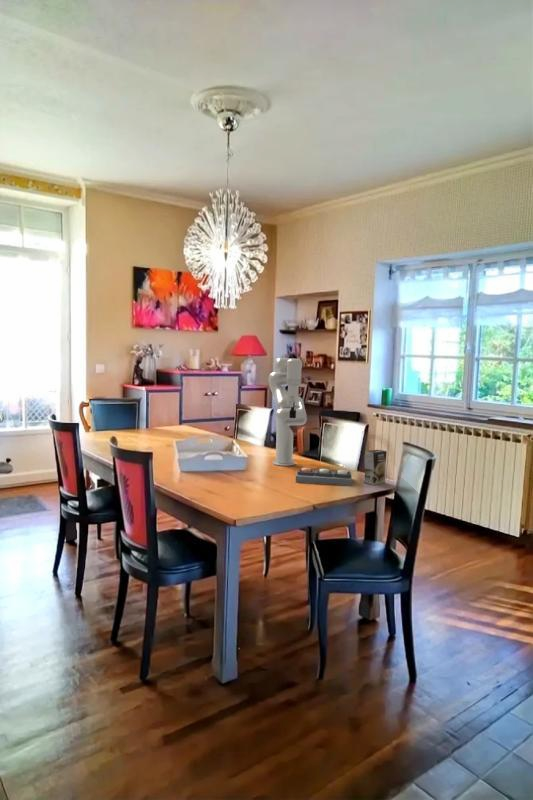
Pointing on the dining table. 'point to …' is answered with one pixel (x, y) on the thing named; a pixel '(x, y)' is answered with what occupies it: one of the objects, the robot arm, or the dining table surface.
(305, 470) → the terracotta button
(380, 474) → the coffee box
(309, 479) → the button panel
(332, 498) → the dining table surface
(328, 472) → the sage button
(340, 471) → the cream button
